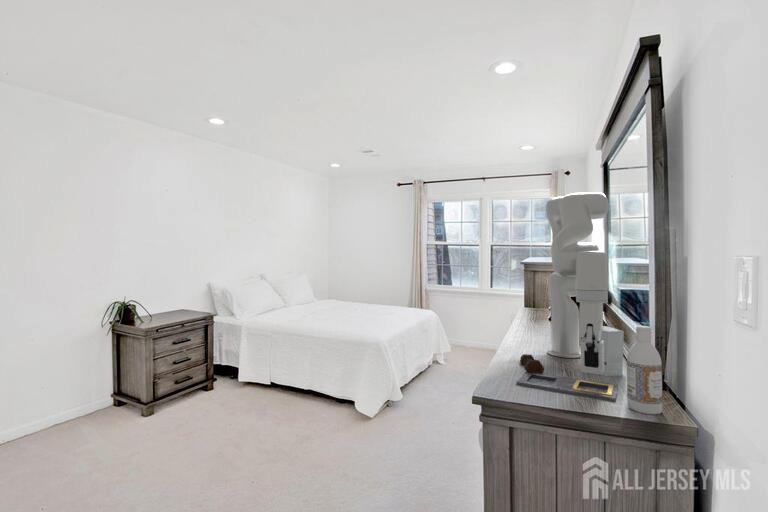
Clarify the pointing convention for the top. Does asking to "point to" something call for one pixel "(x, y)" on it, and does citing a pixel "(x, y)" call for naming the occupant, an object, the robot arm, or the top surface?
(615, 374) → the skincare box
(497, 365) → the top surface
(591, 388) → the grey slotted board
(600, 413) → the top surface
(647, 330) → the bath foam
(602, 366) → the brushed steel block
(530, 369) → the bolt
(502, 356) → the top surface
